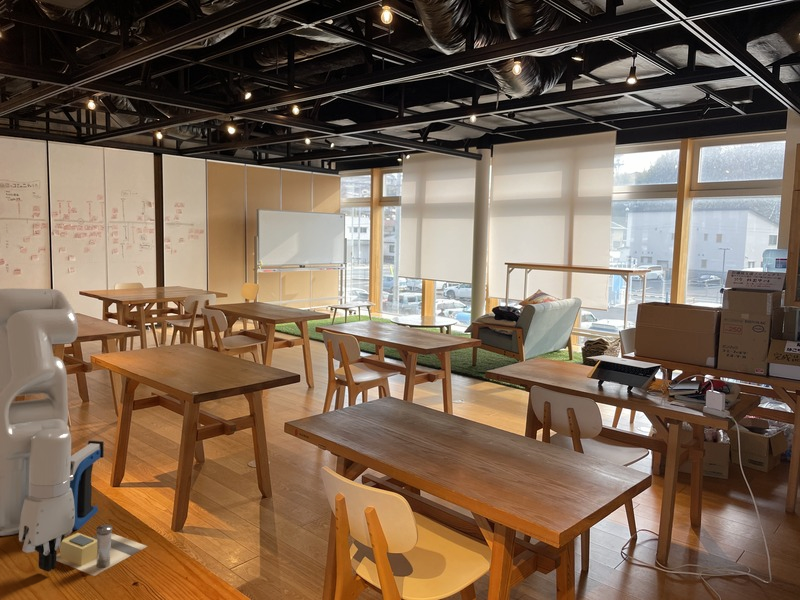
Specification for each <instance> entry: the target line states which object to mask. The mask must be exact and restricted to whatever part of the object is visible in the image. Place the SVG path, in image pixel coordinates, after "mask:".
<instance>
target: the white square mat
mask: <svg viewBox="0 0 800 600" xmlns="http://www.w3.org/2000/svg"><path fill="white" fill-rule="evenodd" d="M91 538H94V539H96V540H97V534H96V535H94V536H92V537H91ZM147 547H149V546H148V545H146V544H144V543H143V544H142V543H140V542H137V541H135V540H132V539H129V538H126V537H124V536H121V535H118V534H115V533H114V532H113V533H112V532H111V553H110V565H109V566H108V567H106V568H97V567H96V560H97V558H96V559H94V560H92V561H90V562H88V563H86V564H85V565H83V566H80V565H78V564H75V563H73V562H70V561H68V560H65V559H63V558H60V552H59V553H57V555H56V562H58V563H61V564H63V565H66V566H69V567H71V568H74V569H75V570H78V571H81V572H83V573H85V574H88V575H91V576H93V577H95V576H97V575H99V574H101V573H103V572H105V571H106V570H109V569H110V568H112V567H113V566H116V565H117V564H118V563H121V562H123V561H124V560H126V559H128V558H130V557H131V556H134V555H135V554H137V553H138V552H140V551H142V550H144V549H145V548H147Z"/></svg>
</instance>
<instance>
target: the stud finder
mask: <svg viewBox="0 0 800 600" xmlns="http://www.w3.org/2000/svg"><path fill="white" fill-rule="evenodd" d="M59 553H60V558H63V559H65V560H68V561H70V562H73V563H75V564H78V565H80V566H83V565H85V564H86V563H88V562H90V561H92V560H94V559H96V558H97V540H96V539H94V538H92V537H91V536H89V535H85V534H82V533H81V532H76V533H74V534H72V535H68V536H66V537H64V539H63V540H62V542H61V543H60V548H59Z"/></svg>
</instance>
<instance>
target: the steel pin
mask: <svg viewBox="0 0 800 600" xmlns="http://www.w3.org/2000/svg"><path fill="white" fill-rule="evenodd" d="M112 532H113V525H112V524H101V525H99V526H97V527H96V535H97V560H96V567H97V568H106V567H108V566H109V565H110V553H111V533H112Z"/></svg>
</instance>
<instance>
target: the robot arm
mask: <svg viewBox="0 0 800 600" xmlns="http://www.w3.org/2000/svg"><path fill="white" fill-rule="evenodd" d="M78 335H79V322H78V319H77V315H76V313H75V311H74V309H73V307H72V305H71V304H70V302H69V300H68V299H67V297H66V296H65V294H64V292H62V290H58V289H54V288H0V536H3V537H4V536H10V535H11V536H12V535H17V534H18V540H19V542H21V543H23V544H22V548H21V550H22V552H24V553H25V554H26V553H33V552H36V553H38V563H37V564H38V568H39V569H40V570H43V571H45V572H47V573H49V572H51V571H52V570H54V569H56V568H57V567H56V566H57V561H56V555H57V554H58V553H57V551H58V550H60V543H61V542H62V540H63V539H65V538H67V537H68V536H70V534H71V533H72V532H73V530H72V528H73V527H74V521H75V507H74V498H73V493H72V489H71V488H70V481H71V480H73V479H74V477H73V475H72V474H71V475H70V467H71V456H72V434H71V433H70V426H69V425H68V423H69V402H68V401H69V400H68V398H69V396H68V395H69V394H68V376H67V369H66V366H65V365H66V364H65V363H64V361H63V360H62V359H61V358H60V357H59V356H55V355H54V352H53V351H54V350H53V345H62V344H63V345H65V344H71V343H74V342H75V341H76V340H77V338H78ZM41 394H42V395H44V396H45V398H39V399H38V398H37V399H27V400H17V401H14V400H15V399H16V397H23V396H30V395H41Z"/></svg>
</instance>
